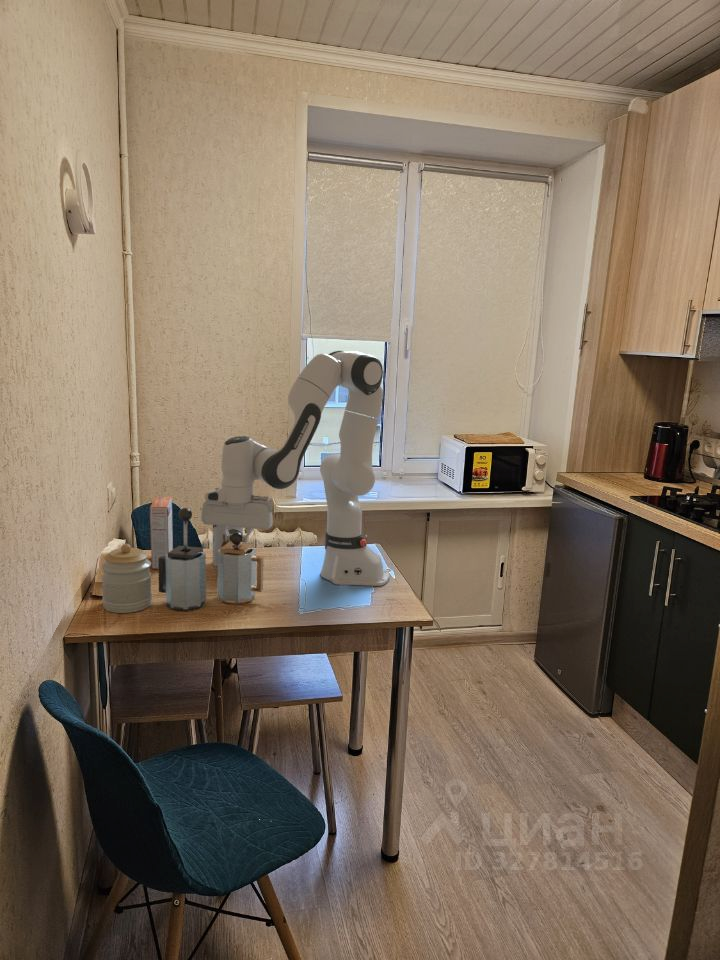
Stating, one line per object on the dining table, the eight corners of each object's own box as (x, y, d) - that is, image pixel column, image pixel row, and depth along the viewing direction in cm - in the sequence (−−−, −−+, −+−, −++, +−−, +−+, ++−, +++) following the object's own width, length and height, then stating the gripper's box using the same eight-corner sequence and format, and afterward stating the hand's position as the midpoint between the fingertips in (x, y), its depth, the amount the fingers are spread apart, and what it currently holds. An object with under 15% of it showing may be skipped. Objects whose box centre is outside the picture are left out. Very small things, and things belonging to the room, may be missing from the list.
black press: (210, 598, 191) (210, 546, 188) (196, 612, 181) (195, 557, 178) (168, 594, 193) (168, 542, 190) (152, 607, 183) (151, 553, 180)
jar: (158, 597, 190) (157, 538, 187) (142, 615, 178) (141, 552, 174) (113, 595, 191) (111, 536, 187) (94, 612, 178) (92, 549, 174)
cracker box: (155, 555, 226) (154, 496, 222) (173, 555, 227) (172, 496, 223) (150, 569, 213) (149, 506, 209) (169, 569, 214) (168, 506, 210)
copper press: (266, 594, 197) (267, 543, 193) (255, 607, 186) (256, 554, 183) (225, 589, 198) (226, 539, 195) (212, 602, 188) (212, 549, 185)
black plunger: (204, 564, 188) (203, 506, 184) (193, 573, 180) (192, 512, 177) (178, 562, 189) (178, 503, 185) (166, 570, 181) (166, 510, 178)
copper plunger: (253, 585, 195) (254, 530, 192) (244, 595, 188) (245, 537, 184) (228, 583, 196) (229, 527, 193) (219, 592, 189) (219, 534, 186)
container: (211, 559, 225) (211, 502, 221) (240, 558, 228) (241, 501, 224) (214, 569, 216) (214, 509, 212) (244, 567, 219) (245, 508, 215)
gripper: (276, 494, 188) (275, 541, 191) (207, 489, 191) (207, 535, 194) (269, 499, 182) (268, 547, 185) (199, 493, 185) (199, 541, 188)
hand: (236, 541), depth 189 cm, fingers closed on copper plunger, 4 cm apart
